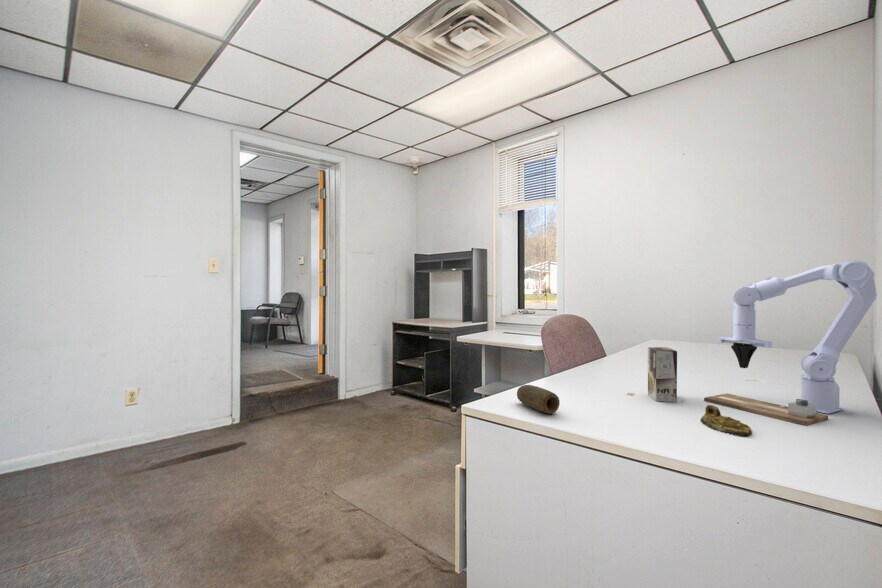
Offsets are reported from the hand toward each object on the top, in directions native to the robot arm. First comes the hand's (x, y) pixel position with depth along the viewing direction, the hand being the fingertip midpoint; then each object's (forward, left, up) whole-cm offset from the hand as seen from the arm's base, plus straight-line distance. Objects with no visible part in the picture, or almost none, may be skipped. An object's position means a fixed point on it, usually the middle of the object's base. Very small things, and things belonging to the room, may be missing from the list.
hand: (743, 367), depth 130 cm
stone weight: (+65, -22, -11) cm, 69 cm away
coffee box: (+21, -13, -11) cm, 27 cm away
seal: (+31, +12, -11) cm, 35 cm away
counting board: (+6, +8, -10) cm, 14 cm away
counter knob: (+6, +18, -9) cm, 21 cm away
